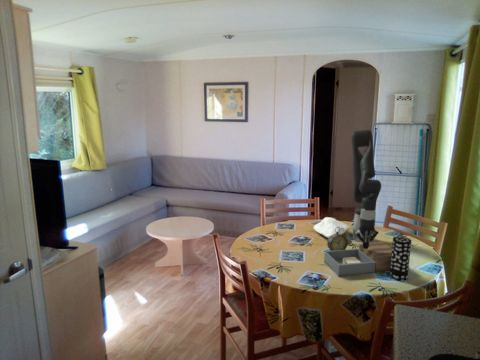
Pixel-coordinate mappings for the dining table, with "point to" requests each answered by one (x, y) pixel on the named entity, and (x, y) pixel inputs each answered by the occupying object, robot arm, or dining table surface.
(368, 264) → the box
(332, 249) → the alarm clock
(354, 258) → the wooden tile
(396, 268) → the white-spotted black cylinder
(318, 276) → the dining table surface
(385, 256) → the block
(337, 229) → the crumpled cloth
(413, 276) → the dining table surface
